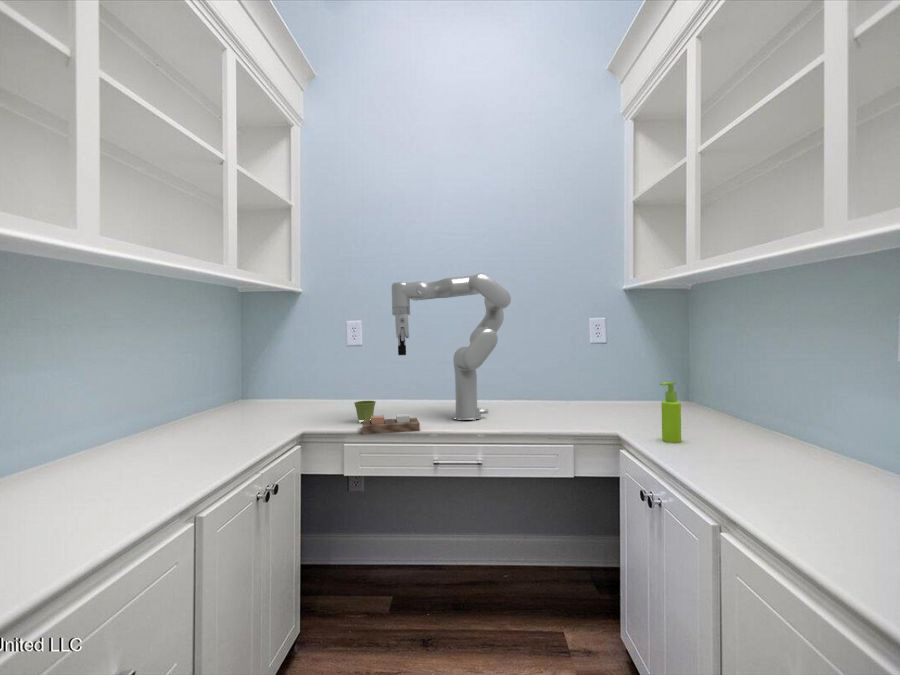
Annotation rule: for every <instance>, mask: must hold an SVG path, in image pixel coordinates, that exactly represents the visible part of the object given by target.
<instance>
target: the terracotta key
mask: <svg viewBox="0 0 900 675" xmlns="http://www.w3.org/2000/svg"><path fill="white" fill-rule="evenodd" d="M384 419H385V415H384V414H382V415H381V414H379V415H378V414H377V415H373V416H371V424H384Z"/></svg>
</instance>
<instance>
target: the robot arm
mask: <svg viewBox="0 0 900 675" xmlns="http://www.w3.org/2000/svg"><path fill="white" fill-rule="evenodd" d="M479 294H480V295H481V296H482V297H484V301H483V302H484V306H485V314H484V316H483V318H482V320H481V321H480V322H479V323H478V325H477V326H476V327H475V328H474V330H473V331H472V332H471V333H470V336H469V343H470V344H469V345H468V346H461V347H459V348H457V350H456V351H455V352H454V354H453V358H452V359H453V368H454V384H455V386H454V388H455V389H454V390H455V414H453V415H452V417H453V418H456V419H460V420H473V421H477V420H476V419H479V420H481V419H480V418H482V414H483V415H486V414H489V409H488V408H487V409H486V408H479V407H478V378H477V369H480V367H481V366H482V365H483V364H484V363H485V362H486V360H487V359H488V357H489V356H490V355H491V353H492V352H493V351H494V349H496V346H497V344H498V340H499V339H498V338H499V337H498V334H497V333H498V332H499V330H500V328H501V327H502V325H503V323H504V320H505V319H504V317H505V316H504V313H505V312H504V310H505V309H507V308H508V307H509V306H510V305H511V302H512V296H511V294H510V293H509V291H508V290H507V289H505V288H504V287H503V286H502V285H501V284H499V283H498V282H497V281H496V280H494V279H492V278H491V277H490V276H488V275H487V274H485V273H482V272H480V273H476V274H473V275H465V276H455V277H453V276H452V277H447V278H446V277H445V278H442V279H438V280H435V281H431V282H430V281H429V282H423V281H412V282H404V281H396V282H393V283H392V284H391V313H392V314H391V315H392V316H394V318H395V319H394V323H395V326H394V327H395V337H396V339H397V340H398V341H397V343H398V344H397V355H398V356H406V355H407V345H406V339H409V338H410V331H409V328H410V327H409V316H410V315H411V300H412V301H414V302H415V301H416V302H417V301H426V300H435V299H448V298H458V297H464V296H466V297H467V296H474V295H479ZM453 418H452V419H453Z"/></svg>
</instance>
